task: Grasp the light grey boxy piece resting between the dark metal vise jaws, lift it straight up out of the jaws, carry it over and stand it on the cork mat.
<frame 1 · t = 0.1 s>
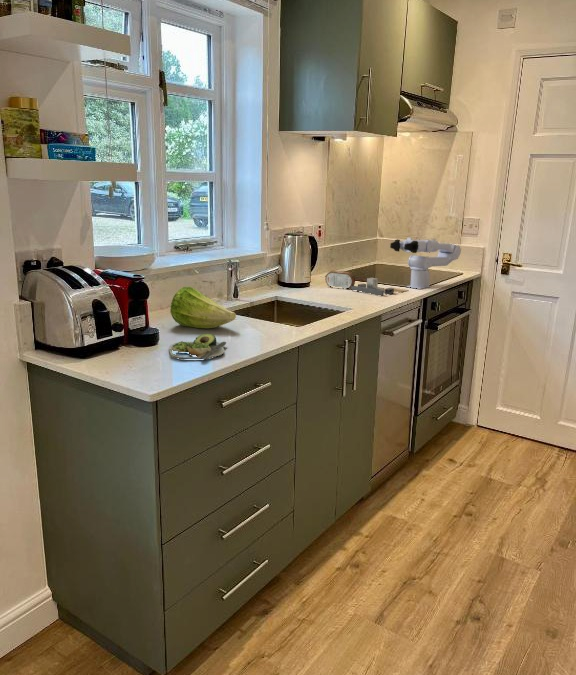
hand: (397, 246, 266), 22 cm above the worktop, tool horizontal, fingers open, 7 cm apart
salad plate: (198, 353, 177), on the worktop
vise jaws: (371, 290, 276), on the worktop
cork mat: (395, 290, 277), on the worktop
lettuce: (206, 328, 206), on the worktop
tin: (339, 288, 282), on the worktop
light grey boxy piece: (375, 285, 273), in the vise jaws
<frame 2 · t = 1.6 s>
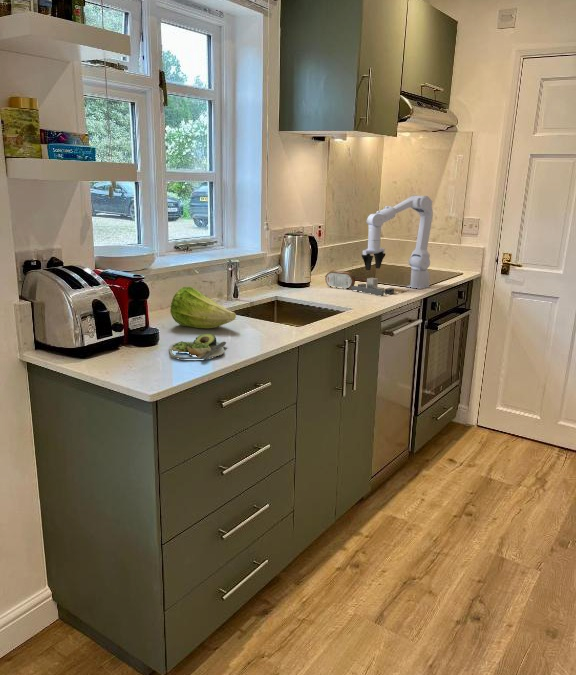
hand: (372, 269, 273), 10 cm above the worktop, tool pointing down, fingers open, 7 cm apart
nothing on the worktop moved.
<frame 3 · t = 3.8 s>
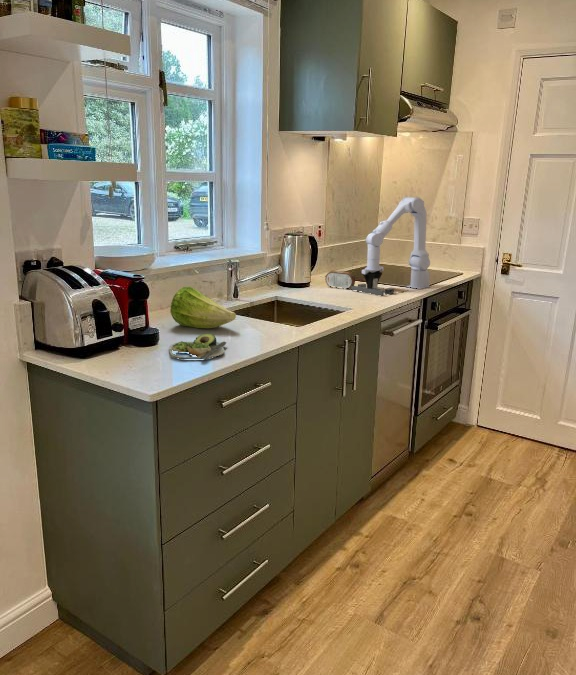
hand: (372, 287, 275), 2 cm above the worktop, tool pointing down, fingers closed on light grey boxy piece, 4 cm apart
light grey boxy piece: (375, 285, 273), in the vise jaws, touching gripper
everything else where it was.
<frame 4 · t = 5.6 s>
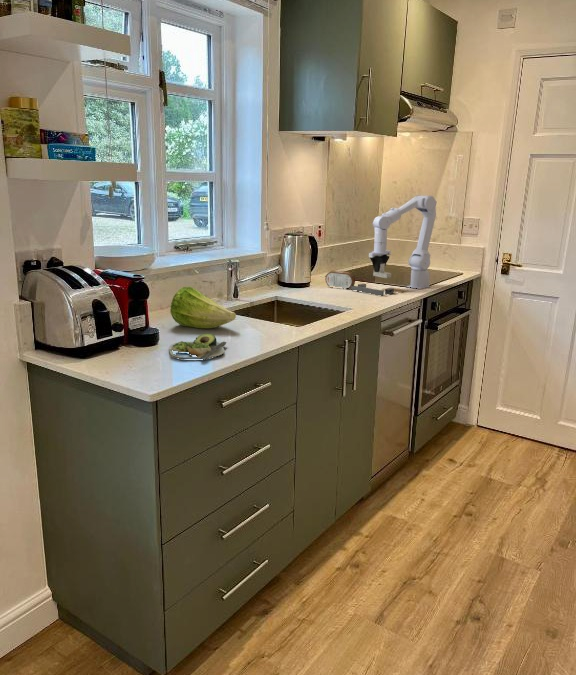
hand: (379, 271, 274), 9 cm above the worktop, tool pointing down, fingers closed on light grey boxy piece, 4 cm apart
light grey boxy piece: (382, 270, 272), point 10 cm above the worktop, touching gripper
everything else where it was.
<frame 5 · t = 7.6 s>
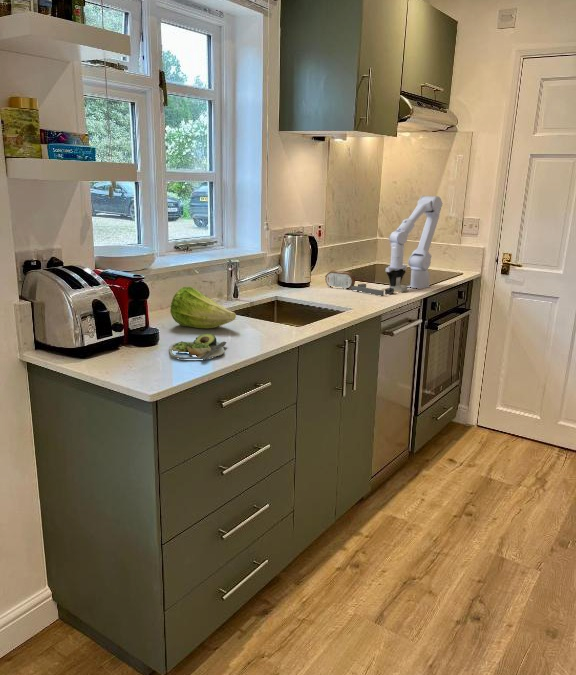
hand: (395, 285, 276), 2 cm above the worktop, tool pointing down, fingers closed on light grey boxy piece, 4 cm apart
light grey boxy piece: (398, 283, 275), on the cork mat, touching gripper
everything else where it was.
when the fingers open (2 cm above the worktop, at t = 8.4 s): light grey boxy piece stays where it is, resting on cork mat.
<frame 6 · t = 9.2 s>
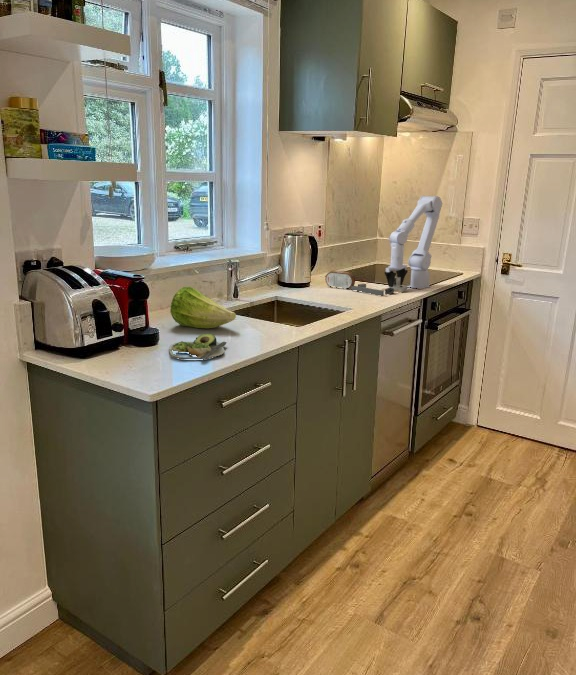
hand: (395, 285, 276), 2 cm above the worktop, tool pointing down, fingers open, 7 cm apart
light grey boxy piece: (398, 283, 275), on the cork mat
everything else where it was.
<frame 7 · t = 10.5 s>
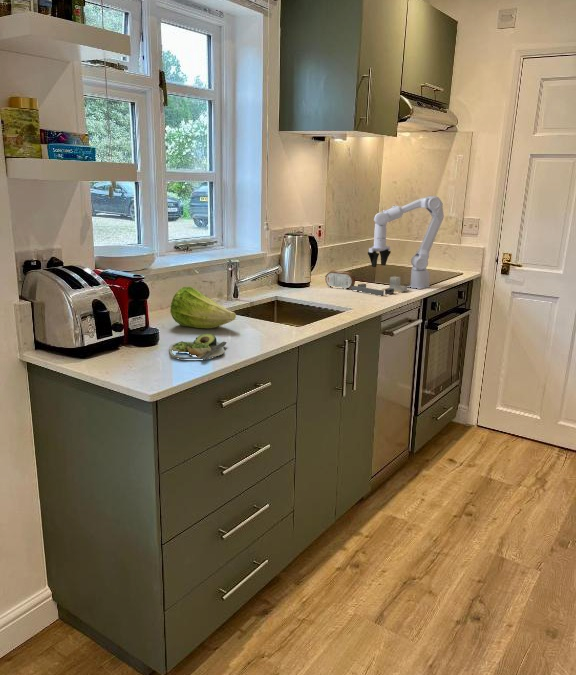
hand: (378, 266, 282), 10 cm above the worktop, tool pointing down, fingers open, 7 cm apart
nothing on the worktop moved.
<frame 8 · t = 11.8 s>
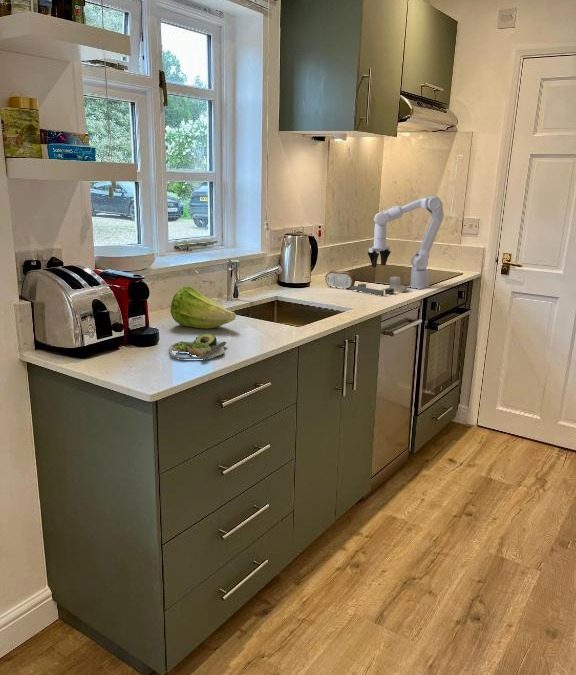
hand: (378, 266, 282), 10 cm above the worktop, tool pointing down, fingers open, 7 cm apart
nothing on the worktop moved.
at the end: light grey boxy piece inside the target area on the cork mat (0.3 cm from its centre), point 3.4 cm above the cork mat's base; light grey boxy piece tilted 0°; the gripper is holding nothing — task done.
